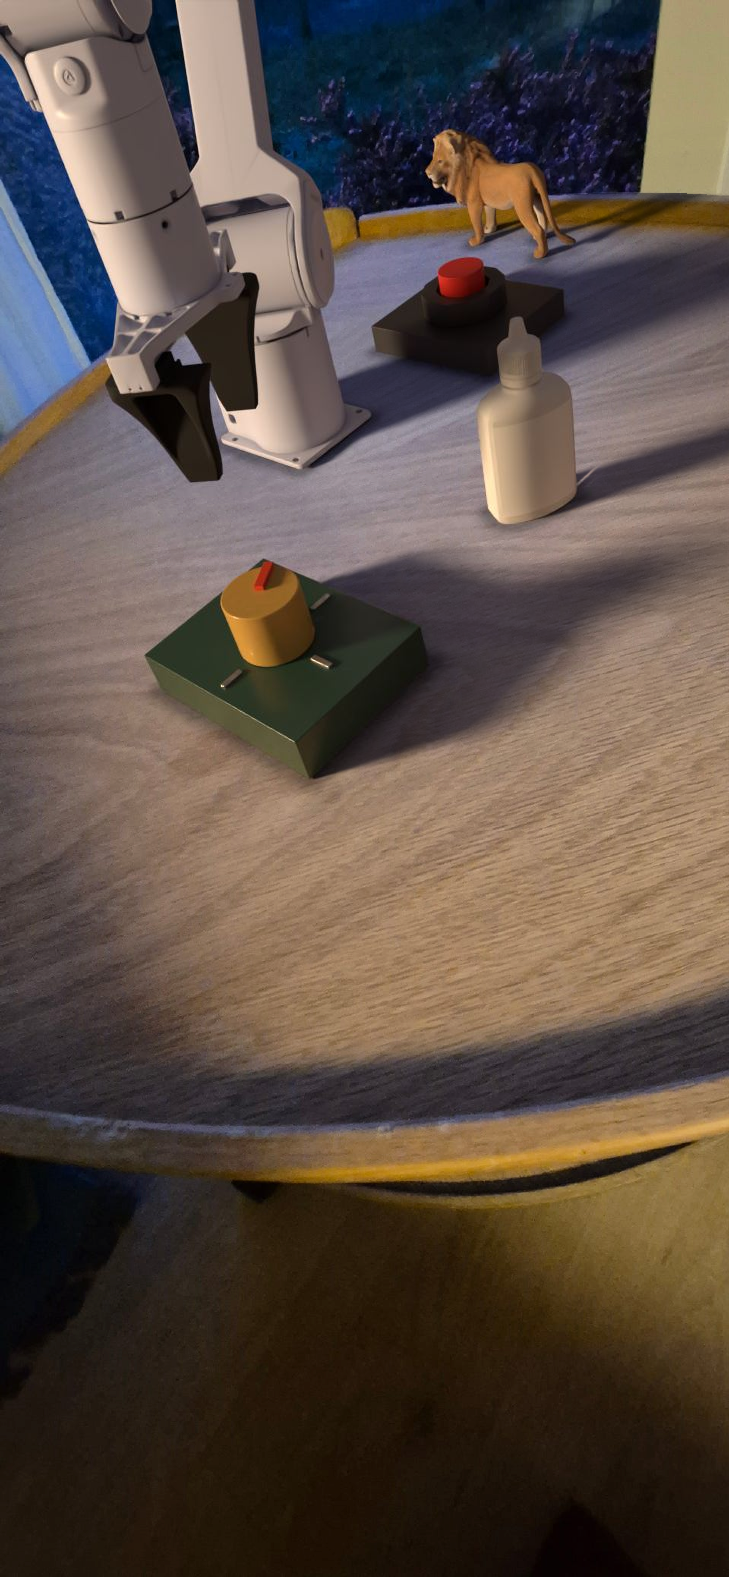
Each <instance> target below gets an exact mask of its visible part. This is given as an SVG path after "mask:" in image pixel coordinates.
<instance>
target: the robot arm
mask: <svg viewBox="0 0 729 1577" xmlns="http://www.w3.org/2000/svg"><path fill="white" fill-rule="evenodd" d="M175 5H176V12H177V20H178V26H179V32H180V38H181V45H182V46H181V47H182V51H183V58H184V65H185V72H186V77H187V84H188V90H189V91H188V92H189V98H190V104H191V110H192V111H191V112H192V117H193V123H194V129H195V130H194V131H195V136H196V143H197V150H198V155H199V157H198V160H197V162H196V164H195V165H194V167H193V168H192V170H191V171H190V169H189V167H188V164H187V160H186V156H185V153H184V151H183V147H182V144H181V140H180V137H179V135H178V131H177V128H176V125H175V121H174V118H173V115H172V112H171V109H170V106H169V103H168V99H167V96H166V93H165V90H164V86H163V83H162V80H161V76H160V74H159V71H158V70H159V69H158V67H157V63H156V60H155V57H154V53H153V51H152V48H151V45H150V41H149V38H148V35H147V30H148V28H149V25H150V21H151V17H152V15H153V2H152V0H0V55H1V56H2V57H3V59H5V61H6V62H7V64H8V65H9V67H10V68H11V70H12V72H13V74H14V76H15V78H16V81H17V83H18V85H19V88H20V90H21V93H22V94H23V97H24V99H25V102H28V103H29V105H30V107H31V109H32V110H33V111H34V112H39V113H43V116H44V118H45V120H46V122H47V125H48V127H49V130H50V133H51V135H52V138H53V140H54V142H55V145H56V147H57V150H58V153H59V155H60V158H61V161H62V162H63V164H64V168H65V170H66V173H67V175H68V178H69V180H70V183H71V185H72V188H73V189H74V193H75V196H76V198H77V201H78V202H79V205H80V208H81V211H82V213H83V216H85V219H86V223H87V224H88V228H89V229H90V232H91V235H92V237H93V240H94V243H95V245H96V247H97V250H98V253H99V255H100V258H101V260H102V262H103V265H104V268H105V271H106V273H107V275H108V278H109V280H110V282H111V285H112V287H113V290H114V292H115V295H116V298H117V300H118V301H117V306H116V315H115V326H114V337H113V344H112V347H111V349H110V351H109V353H108V354H107V356H106V358H105V361H106V363H107V365H108V368H109V371H110V372H111V373H110V375H109V376H108V377H107V379H106V381H105V382H104V386H105V389H106V391H107V392H108V393H107V394H108V396H109V398H110V399H111V402H113V404H115V405H116V406H118V407H119V408H120V409H122V410H123V411H125V412H127V413H128V414H129V415H130V416H131V417H133V418H134V419H135V420H136V421H138V422H139V423H140V424H141V425H142V426H143V427H144V428H145V429H146V430H147V431H148V432H149V433H150V434H151V436H153V437H154V438H155V440H156V441H157V442H158V443H159V444H160V446H161V447H162V448H163V449H164V450H165V452H166V453H167V454H168V456H169V457H170V458H171V460H172V461H173V463H174V464H175V465H176V466H177V468H178V469H179V471H180V472H181V473H182V474H183V476H184V477H185V478H186V480H187V481H188V482H189V484H190V483H191V484H192V483H205V482H206V483H207V482H218V481H220V480H221V478H222V476H223V475H224V467H223V457H222V454H221V449H220V444H219V441H218V436H217V433H216V429H215V426H214V421H213V413H212V408H211V407H212V405H211V388H210V387H211V386H212V388H213V391H214V393H215V397H216V399H217V402H218V404H219V407H220V410H221V413H222V416H223V420H224V422H225V426H226V428H227V432H226V433H224V434H223V435H222V436H221V442H222V444H224V445H226V446H230V447H231V448H235V449H238V450H241V451H244V452H247V453H249V454H253V455H255V456H259V457H261V458H264V459H267V460H271V461H273V462H276V463H280V464H281V465H285V466H288V467H291V468H293V469H297V470H304V469H306V468H308V467H309V466H310V465H311V464H313V463H314V462H315V461H317V460H318V459H320V458H321V457H322V456H323V455H325V453H327V452H328V451H330V449H331V450H332V448H333V447H335V446H336V445H337V444H338V443H340V442H341V441H343V440H344V439H345V438H346V437H347V436H349V435H350V434H351V433H353V432H354V431H356V429H358V428H359V427H360V426H361V425H363V424H364V423H365V422H367V421H369V419H371V417H372V414H371V410H369V409H367V408H363V407H361V406H360V407H359V406H356V405H352V404H348V403H344V401H343V396H342V392H341V389H340V384H339V380H338V375H337V372H336V367H335V363H334V360H333V355H332V350H331V346H330V343H329V339H328V335H327V329H326V327H325V326H326V325H325V321H324V318H323V313H322V309H325V308H326V307H327V306H328V304H329V302H330V299H331V298H332V296H333V294H334V290H335V282H336V278H335V277H336V274H335V273H336V272H335V259H334V258H335V257H334V252H333V245H332V241H331V236H330V231H329V228H328V224H327V222H326V219H325V212H324V206H323V200H322V194H321V191H320V190H319V188H318V186H317V184H316V183H315V180H314V179H313V178H312V177H311V175H310V174H309V173H308V172H307V171H306V170H304V169H303V168H302V167H300V166H298V165H297V164H295V163H294V162H292V161H290V160H289V159H288V158H285V157H284V156H282V154H279V153H278V152H276V151H275V150H274V146H273V139H272V138H273V137H272V130H271V124H270V114H269V107H268V98H267V92H266V84H265V75H264V68H263V61H262V53H261V52H262V51H261V45H260V36H259V30H258V22H257V14H256V5H255V0H175ZM183 334H184V335H185V336H186V338H187V339H188V341H189V342H190V344H191V345H192V347H193V348H194V351H195V352H196V354H197V356H198V358H199V359H200V361H201V362H199V363H191V364H183V363H182V361H181V359H180V358H177V359H176V360H175V357H174V354H173V351H172V348H173V347H174V345H175V344H176V342H177V341H178V339H179V338H180V337H181V336H182V335H183Z"/></svg>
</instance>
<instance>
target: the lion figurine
mask: <svg viewBox="0 0 729 1577" xmlns="http://www.w3.org/2000/svg"><path fill="white" fill-rule="evenodd" d="M432 140H433V143H434V149H433V153H432V160H431V162H430V164H429V165H427V167H426V169H425V173H426V175H427V177H428V179H431V180H432V182H431V183H432V185H433V188H435V189H439V188H441V187H442V188H443V190H444V191H445V192H446V193H448V194H450V195H452V196H453V197H455V199H456V203H457V204H458V205H460V206H465V207H467V212H468V215H469V219H470V223H471V224H472V227H473V230H474V233H475V235H474V236H471V237H470V238H469V241H468V244H469V245H470V246H471V247H476V246H477V247H478V246H479V245H481V244H483V243H484V242H485V240H486V239H485V238H486V234H490V233H494V232H495V231H496V230H497V228H498V227H497V226H498V224H497V210H501V211H508V210H511V209H514V210H515V213H516V216H517V217H518V220H519V221H520V222H521V225H522V226H523V227H524V228H525V230H527V232H529V234H531V236H532V237H533V239H534V240H535V241H536V242H537V246H536V247H534V250H533V257H534V259H542V258H544V257H545V256H546V255H547V254H548V252H549V244H548V239H547V236H548V226H549V225H550V227H551V229H552V232H553V233H554V235H555V236H556V237H557V238H558V239H559V240H560V242H561V243H563V244H564V245H565V246H573V245H575V244H576V243H577V240H576V239H575V238H574V237H572V236H570V235H569V234H566V233H564V232H563V231H562V230H560V228H559V226H558V224H557V222H556V219H555V216H554V213H553V210H552V205H551V202H550V197H549V194H548V191H547V190H548V189H547V182H546V176H545V174H544V173H543V171H542V169H541V168H540V167H539V166H537V165H536V164H535V163H533V162H530V161H525V162H520V163H506V162H503V161H499V160H498V159H497V158H496V157H495V155H494V154H493V153H492V151H491V149H490V148H489V147H488V145H486V144H485V143H484V142H483V141H482V140H478V139H477V137H476V136H475V135H472V134H470V133H468V132H464V131H462V129H459V130H458V129H457V130H456V129H455V128H448V129H445V130H443V131H441V132H440V133H439V134H437V135H435V137H434V138H433V139H432ZM483 212H485V224H484V223H483V218H482V217H483ZM548 222H549V224H548Z"/></svg>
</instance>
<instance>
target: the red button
mask: <svg viewBox="0 0 729 1577" xmlns="http://www.w3.org/2000/svg"><path fill="white" fill-rule="evenodd" d="M484 266H485V265H484V262H483V259H481V258H479V257H475V256H464V257H459V258H454V259H452V260H449V261H447V262H445V263H444V264H442V265H441V266H440V267H439V268H438V270H437V276H438V279H439V286H440V293H441V296H442V297H448V298H458V297H466V296H468V295H471V294H474V293H477V292H479V291H481V290H482V289H483V288H485V286H486V283H485V273H484Z"/></svg>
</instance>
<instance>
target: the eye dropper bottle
mask: <svg viewBox="0 0 729 1577" xmlns="http://www.w3.org/2000/svg"><path fill="white" fill-rule="evenodd" d="M541 346H542V345H541V340H540V338H539V337H538V338H537V337H536V336H534V335H531V334H527V332H526V329H525V325H524V322H523V318H522V317H514V318H512V319H511V320H510V326H509V335H508V338H506V339H504V340H503V341H502V342H501V343H500V344H499V345H498V347H497V354H498V363H499V370H498V371H499V373H498V374H499V381H500V382H499V383H497V384H496V385H495V386H494V387H493V388H492V389H490V390H489V391H488V392H487V393H486V394H485V395H484V396H483V397H481V398H482V399H481V400H480V401H479V402H478V404H477V407H476V423H477V432H478V440H479V448H480V457H481V464H482V471H483V480H484V488H485V495H486V503H487V508H488V511H489V512H490V514H492V516H493V517H494V518H495V519H496V520H497V522H499V523H500V524H501V525H502V524H503V525H513V524H520V523H524V522H529V521H532V520H537V519H539V518H542V517H545V516H547V515H549V514H551V513H554V512H556V511H557V510H559V509H561V508H562V507H564V506H565V505H566V504H568V503H570V502H571V501H572V500H573V499H574V497H575V496H576V494H577V490H578V489H577V488H578V486H577V485H578V484H577V463H576V444H575V443H576V442H575V424H574V423H575V422H574V406H573V394H572V390H571V386H570V385H569V383H568V382H567V381H566V380H565V378H563V377H562V376H561V375H559V374H557V373H555V372H553V371H552V372H551V371H543V364H542V362H543V360H542V348H541Z"/></svg>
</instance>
